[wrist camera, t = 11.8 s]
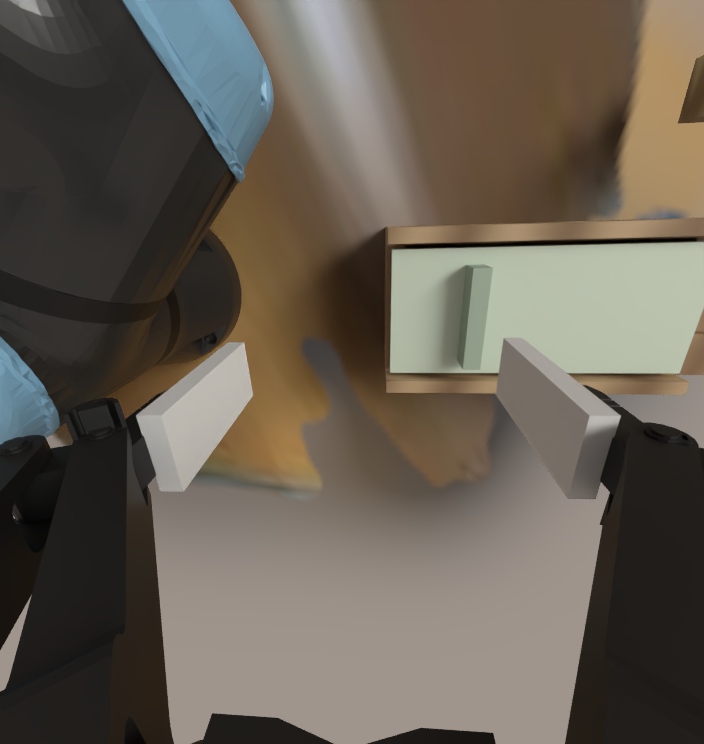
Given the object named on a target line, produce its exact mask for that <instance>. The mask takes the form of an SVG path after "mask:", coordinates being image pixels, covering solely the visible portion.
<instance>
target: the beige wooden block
mask: <svg viewBox="0 0 704 744" xmlns="http://www.w3.org/2000/svg"><path fill="white" fill-rule="evenodd" d="M694 122H704V55H703V56H701V57H699V58H697V59H696V61H695V65H694V68H693V72H692V76H691V79H690V82H689V86H688V89H687V93H686V97H685V100H684V104H683V107H682V111H681V114H680V118H679V121H678V123H694Z"/></svg>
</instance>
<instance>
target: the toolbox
mask: <svg viewBox="0 0 704 744" xmlns="http://www.w3.org/2000/svg"><path fill="white" fill-rule="evenodd" d="M684 241H704V218H674V219H641V220H608V221H575V222H541V223H508V224H475V225H441V226H408V227H386V232H385V344H384V352H385V375H386V393H496V389H497V382H498V375H499V373H390V318H391V254H392V249H406V248H446V247H485V246H525V245H565V244H605V243H644V242H684ZM567 374H569V375H570V376H571V377H572V378H574V379H575V380H576V381H577V382H579V383H580V384H581V385H587V386H590V387H592V388H594V389H597V390H599V391H601V392H603V393H604V394H671V395H685V393H686V391H687V388H688V385H689V382H688V381H686V380H684V379H682V378H680V377H678V376H676V375H704V309H703V311H702V314H701V317H700V319H699V322H698V325H697V327H696V330H695V333H694V336H693V338H692V341H691V344H690V346H689V349H688V352H687V354H686V357H685V360H684V363H683V365H682V368H681V371H680V373H567Z"/></svg>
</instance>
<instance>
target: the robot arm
mask: <svg viewBox="0 0 704 744" xmlns="http://www.w3.org/2000/svg"><path fill="white" fill-rule="evenodd" d="M272 111H273V87H272V82H271V78H270V75H269V72H268V69H267V66H266V64H265V62H264V60H263V57H262V55H261V53H260V52H259V50H258V48H257V46H256V44H255V42H254V40H253V38H252V37H251V35H250V33H249V31H248V30H247V28H246V26H245V25H244V23H243V21H242V20H241V18H240V17H239V15H238V13H237V12H236V10H235V8H234V7H233V5H232V4H231V2H230V1H229V0H0V650H1V648H2V646H3V644H4V643H5V641H6V639H7V637H8V635H9V634H10V632H11V630H12V628H13V627H14V624H15V623H16V621H17V619H18V618H19V616H20V614H21V612H22V611H23V609H24V607H25V605H26V603H27V602H28V600H29V598H30V596H31V595H32V596H31V600H30V604H29V608H28V611H27V615H26V619H25V622H24V626H23V630H22V633H21V637H20V641H19V645H18V648H17V652H16V655H15V659H14V663H13V667H12V670H11V674H10V678H9V681H8V683H7V686H6V689H5V690H3V691H1V692H0V744H174V742H173V738H172V733H171V727H170V720H169V708H168V696H167V685H166V672H165V660H164V649H163V636H162V625H161V613H160V600H159V588H158V577H157V564H156V552H155V540H154V528H153V516H152V504H151V494H150V492H149V488H148V486H147V485H148V484H149V483H150V482H151V481H152V479H153V478H154V477H155V476H156V479H157V482H158V485H159V488H160V491H179V492H181V491H182V492H183V491H184V490H185V489H186V487H187V486H188V485H189V483H190V482H191V481H192V479H193V478H194V477H195V475H196V474H197V472H198V471H199V470H200V468H201V467H202V466H203V464H204V463H205V461H206V460H207V459H208V457H209V456H210V454H211V453H212V452H213V450H214V449H215V448H216V446H217V445H218V443H219V442H220V441H221V439H222V438H223V437H224V435H225V434H226V432H227V431H228V430H229V428H230V427H231V425H232V424H233V423H234V421H235V420H236V419H237V417H238V416H239V414H240V413H241V412H242V410H243V409H244V407H245V406H246V405H247V403H248V402H249V401H250V399H251V398H252V396H253V392H252V386H251V380H250V375H249V369H248V363H247V357H246V351H245V345H244V342H228V343H227V344H225V345H224V346H223V347H222V348H220V349H219V350H218V351H217V352H215V353H214V354H213V355H211V356H210V357H209V358H208V359H206V360H205V361H204V362H203V363H201V364H200V365H199V366H198V367H196V368H195V369H194V370H193V371H191V372H190V373H189V374H188V375H186V376H185V377H184V378H182V379H181V380H180V381H179V382H177V383H176V384H175V385H174V386H172V387H171V388H170V389H168V390H166V391H164V392H162V393H160V394H158V395H156V396H155V397H154V398H152V399H151V400H150V401H148V403H146V404H145V405H143V406H142V407H141V409H138V410H137V411H136V412H134V413H133V414H132V415H130V416H129V417H128V418H127V419H125V418H124V415H123V412H122V409H121V407H120V404H119V401H118V400H117V399H114V398H105V397H106V396H108V395H110V394H111V393H113V392H114V391H116V390H117V389H119V388H121V387H122V386H124V385H125V384H127V383H128V382H130V381H132V380H133V379H135V378H136V377H138V376H139V375H141V374H143V373H144V372H146V371H147V370H149V369H150V368H152V367H153V366H155V365H164V364H173V363H181V362H188V361H191V360H195V359H197V358H200V357H202V356H204V355H206V354H208V353H209V352H211V351H212V350H213V349H215V348H216V347H217V346H219V345H220V344H221V343H222V342H224V340H225V339H226V338H227V337H228V336H229V335H230V333H231V332H232V330H233V329H234V327H235V325H236V322H237V320H238V317H239V313H240V308H241V287H240V281H239V277H238V273H237V270H236V267H235V265H234V262H233V260H232V258H231V256H230V254H229V253H228V251H227V249H226V248H225V246H224V245H223V244H222V242H221V241H220V240H219V239H218V237H217V236H216V235H215V234H214V233H213V232H212V231H211V230H210V229H209V228H210V226H211V225H212V223H213V221H214V220H215V218H216V217H217V215H218V213H219V212H220V210H221V208H222V207H223V205H224V204H225V202H226V200H227V199H228V197H229V196H230V194H231V192H232V191H233V189H234V188H235V186H236V184H237V183H238V182H239V183H240V184H241V182H242V181H243V179H244V177H245V173H244V169H245V167H246V165H247V163H248V161H249V159H250V157H251V155H252V153H253V151H254V149H255V147H256V146H257V144H258V142H259V140H260V138H261V136H262V135H263V133H264V131H265V129H266V127H267V125H268V123H269V121H270V118H271V115H272ZM496 396H497V397H498V399H499V400H500V402H501V403H502V404H503V406H504V407H505V409H506V410H507V412H508V413H509V414H510V416H511V417H512V419H513V420H514V422H515V423H516V425H517V426H518V427H519V429H520V430H521V432H522V433H523V435H524V436H525V438H526V439H527V441H528V442H529V443H530V445H531V446H532V448H533V449H534V451H535V452H536V454H537V455H538V456H539V457H540V459H541V461H542V462H543V464H544V465H545V466H546V468H547V469H548V471H549V472H550V474H551V475H552V477H553V478H554V479H555V481H556V482H557V484H558V485H559V487H560V488H561V490H562V491H563V493H564V494H565V495H566V497H567V498H568V499H596V496H597V493H598V489H599V486H600V483H601V482H602V483H603V484H604V486H605V487H606V488H607V489H608V490H609V492H610V494H609V498H608V500H607V504H606V507H605V510H604V513H603V516H602V519H601V522H600V525H603V527H602V533H601V538H600V544H599V550H598V555H597V562H596V567H595V573H594V579H593V585H592V590H591V596H590V602H589V608H588V614H587V619H586V625H585V631H584V637H583V642H582V648H581V654H580V660H579V666H578V672H577V677H576V683H575V689H574V695H573V700H572V706H571V712H570V718H569V724H568V730H567V735H566V742H565V744H704V449H703V448H699V446H698V444H697V442H696V440H695V439H694V438H692V437H690V436H689V435H688V434H686V433H684V432H682V431H680V430H678V429H675V428H672V427H669V426H665V425H662V424H656V423H643V422H641V421H640V420H638V419H637V418H636V417H635V416H633V415H632V414H631V413H629V412H628V411H627V410H625V409H624V408H622V407H620V405H618V404H617V403H616V402H615V401H611V399H610V398H609V397H608V396H607V395H605V394H604V393H603V392H601V391H599V390H597V389H594V388H592V387H590V386H587V385H581V384H580V383H579V382H577V381H576V380H575V379H574V378H572V377H571V376H570V375H569V374H567V373H566V372H565V371H564V370H562V369H561V368H560V367H558V366H557V365H556V364H555V363H553V362H552V361H551V360H550V359H548V358H547V357H546V356H544V355H543V354H542V353H541V352H539V351H538V350H537V349H536V348H534V347H533V346H532V345H531V344H529V343H528V342H527V341H525V340H524V339H523V338H503V346H502V353H501V360H500V367H499V375H498V382H497V389H496ZM64 423H66V424H67V427H68V429H69V432H70V434H71V436H72V439H73V444H72V445H69V446H63V447H57V448H51V449H50V446H49V444H48V442H47V440H46V438H45V437H48V436H50V435H52V434H53V433H54V432H55V430H57V429H58V428H59V426H61V425H63V424H64ZM13 515H14V517H15V519H14V518H13ZM192 744H333V743H331V742H329V741H327V740H324V739H322V738H320V737H318V736H316V735H314V734H311V733H309V732H307V731H305V730H302V729H301V728H298V727H296V726H294V725H292V724H290V723H287V722H285V721H283V720H281V719H279V718H269V717H256V716H242V715H227V714H212V715H211V719H210V722H209V724H208V728H207V730H206V733H205V736H204V739H203V740H200V741H197V742H194V743H192ZM368 744H495V739H494V735H493V733H486V732H471V731H457V730H443V729H429V728H419V729H416V730H412V731H409V732H406V733H402V734H399V735H396V736H392V737H389V738H385V739H382V740H378V741H375V742H371V743H368Z"/></svg>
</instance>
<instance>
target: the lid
mask: <svg viewBox="0 0 704 744" xmlns="http://www.w3.org/2000/svg"><path fill="white" fill-rule="evenodd" d="M703 309H704V241H684V242H644V243H605V244H565V245H525V246H485V247H446V248H406V249H392V254H391V318H390V373H499V367H500V360H501V353H502V346H503V338H523V339H524V340H525V341H527V342H528V343H529V344H531V345H532V346H533V347H534V348H536V349H537V350H538V351H539V352H541V353H542V354H543V355H544V356H546V357H547V358H548V359H550V360H551V361H552V362H553V363H555V364H556V365H557V366H558V367H560V368H561V369H562V370H564V371H565V372H566V373H680V371H681V368H682V365H683V363H684V360H685V357H686V354H687V352H688V349H689V346H690V344H691V341H692V338H693V336H694V333H695V330H696V327H697V325H698V322H699V319H700V317H701V314H702V311H703Z"/></svg>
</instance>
